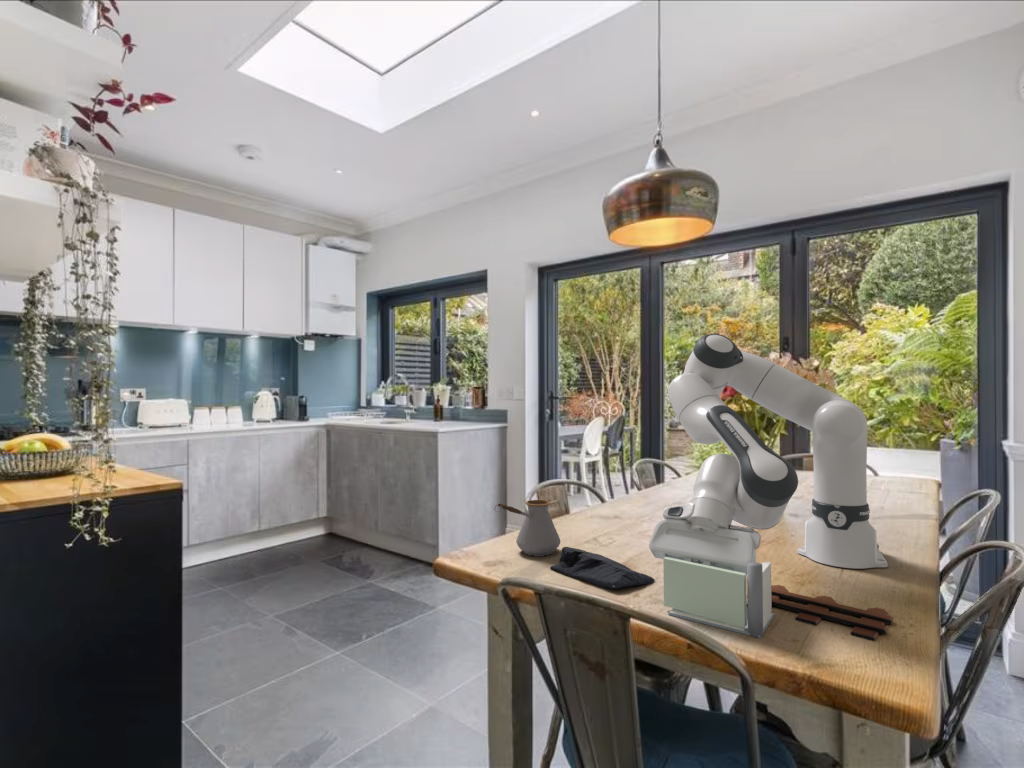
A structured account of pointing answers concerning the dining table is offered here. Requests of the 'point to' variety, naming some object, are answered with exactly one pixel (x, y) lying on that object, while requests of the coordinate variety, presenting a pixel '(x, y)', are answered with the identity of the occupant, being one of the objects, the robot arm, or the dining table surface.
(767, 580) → the fence post and white panel
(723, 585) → the green wall panel
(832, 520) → the robot arm
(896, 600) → the dining table surface
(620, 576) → the dark slate chunk
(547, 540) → the coffee pot
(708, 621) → the card
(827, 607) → the decorative fence
